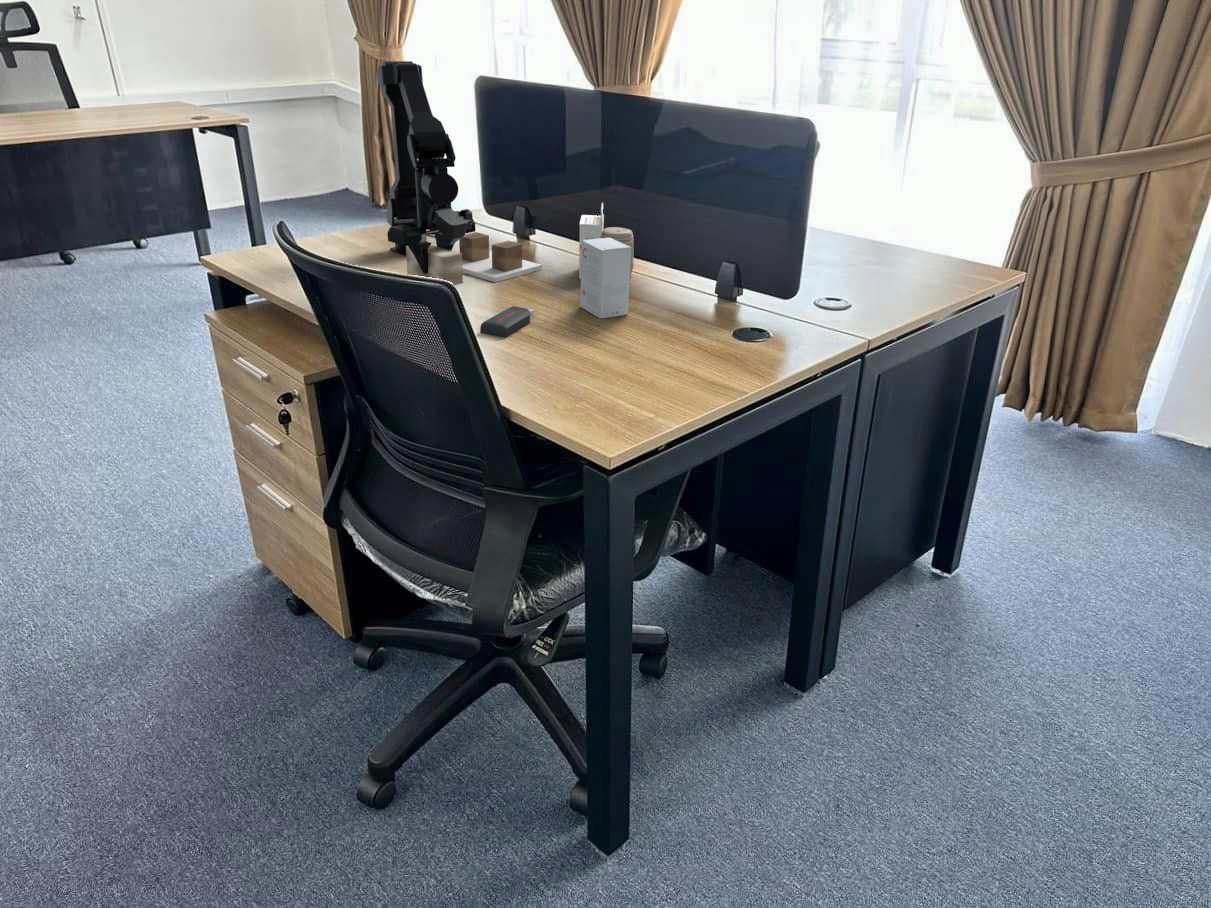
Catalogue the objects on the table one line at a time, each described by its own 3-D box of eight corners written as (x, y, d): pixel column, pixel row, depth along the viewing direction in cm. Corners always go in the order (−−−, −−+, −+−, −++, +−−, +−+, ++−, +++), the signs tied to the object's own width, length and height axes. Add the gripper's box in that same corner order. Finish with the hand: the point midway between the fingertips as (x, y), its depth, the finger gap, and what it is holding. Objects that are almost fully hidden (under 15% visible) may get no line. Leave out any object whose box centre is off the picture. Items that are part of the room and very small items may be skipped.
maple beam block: (407, 274, 196) (405, 246, 193) (424, 270, 199) (422, 242, 196) (446, 287, 189) (445, 257, 186) (462, 282, 192) (461, 253, 190)
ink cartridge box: (579, 268, 205) (581, 199, 198) (602, 269, 205) (604, 200, 198) (577, 279, 197) (579, 208, 191) (601, 280, 197) (603, 209, 191)
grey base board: (439, 265, 203) (439, 261, 202) (486, 254, 212) (486, 249, 212) (495, 282, 193) (494, 277, 193) (541, 269, 203) (541, 264, 202)
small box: (628, 315, 177) (632, 246, 172) (599, 319, 175) (601, 250, 169) (607, 302, 184) (610, 236, 178) (579, 306, 181) (580, 239, 175)
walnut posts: (459, 258, 204) (459, 235, 202) (476, 254, 208) (476, 232, 206) (505, 271, 197) (505, 248, 194) (522, 267, 200) (522, 244, 198)
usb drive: (480, 335, 166) (479, 320, 165) (513, 316, 176) (513, 302, 174) (505, 340, 164) (505, 325, 163) (538, 321, 174) (538, 306, 173)
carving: (638, 290, 192) (641, 231, 186) (605, 294, 188) (607, 234, 183) (623, 281, 197) (625, 224, 191) (591, 285, 193) (592, 227, 188)
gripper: (421, 207, 175) (425, 288, 182) (493, 194, 188) (494, 270, 195) (383, 198, 182) (388, 277, 189) (455, 185, 195) (458, 260, 202)
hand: (434, 271), depth 193 cm, fingers closed on maple beam block, 4 cm apart
